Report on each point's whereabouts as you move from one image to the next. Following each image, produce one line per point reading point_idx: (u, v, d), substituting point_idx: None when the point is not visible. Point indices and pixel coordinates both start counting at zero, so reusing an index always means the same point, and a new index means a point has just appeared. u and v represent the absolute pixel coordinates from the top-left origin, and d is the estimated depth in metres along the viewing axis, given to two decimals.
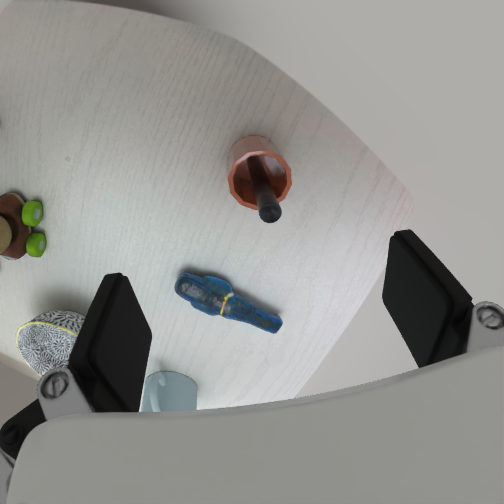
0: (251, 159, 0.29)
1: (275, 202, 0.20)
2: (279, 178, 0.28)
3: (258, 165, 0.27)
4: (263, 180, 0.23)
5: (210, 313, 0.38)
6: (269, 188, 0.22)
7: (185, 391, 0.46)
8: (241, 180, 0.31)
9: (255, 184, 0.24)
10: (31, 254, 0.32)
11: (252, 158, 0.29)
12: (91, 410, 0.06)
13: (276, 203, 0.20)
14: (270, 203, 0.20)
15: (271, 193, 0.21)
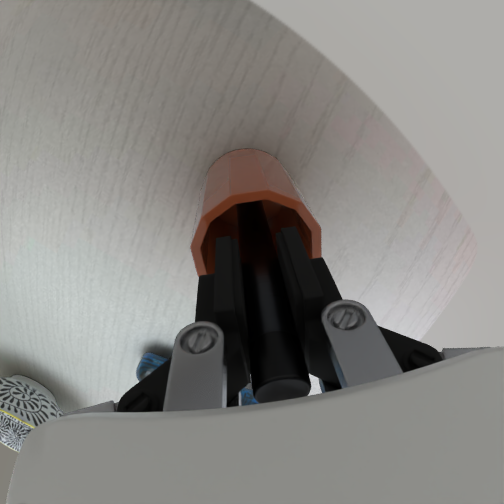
0: None
1: (297, 368, 0.07)
2: None
3: (254, 213, 0.14)
4: (265, 267, 0.10)
5: None
6: (279, 298, 0.09)
7: None
8: (225, 229, 0.18)
9: (246, 274, 0.11)
10: None
11: None
12: (222, 385, 0.06)
13: (299, 371, 0.07)
14: (283, 377, 0.07)
15: (284, 322, 0.08)
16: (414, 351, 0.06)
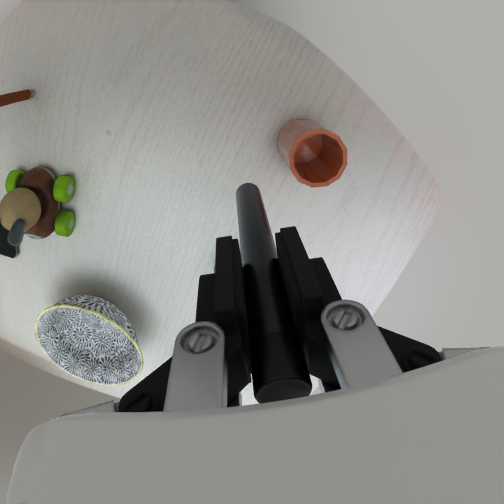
0: (243, 195, 0.16)
1: (298, 368, 0.07)
2: (330, 160, 0.29)
3: (255, 213, 0.14)
4: (266, 268, 0.10)
5: None
6: (280, 299, 0.09)
7: None
8: None
9: (247, 275, 0.11)
10: (59, 233, 0.32)
11: (245, 193, 0.16)
12: (222, 385, 0.06)
13: (300, 372, 0.07)
14: (284, 377, 0.07)
15: (286, 322, 0.08)
16: (413, 351, 0.06)
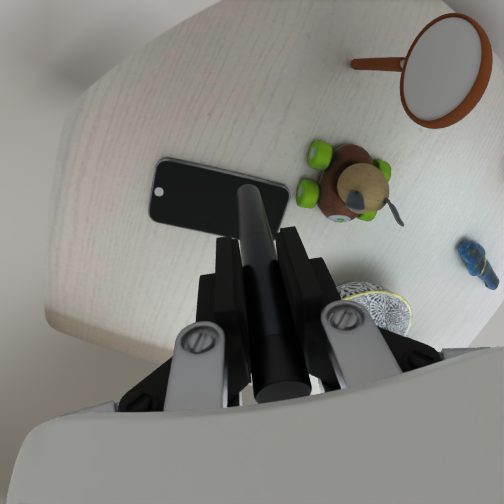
0: (243, 196, 0.16)
1: (297, 370, 0.07)
2: None
3: (255, 215, 0.14)
4: (266, 269, 0.10)
5: (475, 273, 0.40)
6: (280, 300, 0.09)
7: None
8: None
9: (247, 276, 0.11)
10: (367, 217, 0.34)
11: (244, 194, 0.16)
12: (223, 385, 0.06)
13: (300, 373, 0.07)
14: (284, 379, 0.07)
15: (285, 324, 0.08)
16: (413, 351, 0.06)
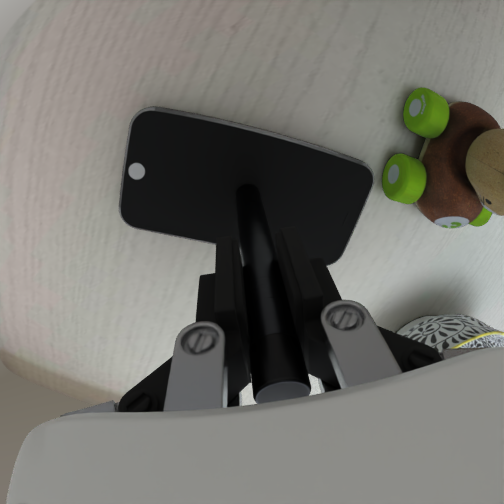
0: (242, 197, 0.16)
1: (297, 370, 0.07)
2: None
3: (255, 215, 0.14)
4: (266, 269, 0.10)
5: None
6: (279, 300, 0.09)
7: None
8: None
9: (247, 277, 0.11)
10: (481, 220, 0.18)
11: (244, 194, 0.16)
12: (222, 385, 0.06)
13: (299, 373, 0.07)
14: (283, 379, 0.07)
15: (285, 324, 0.08)
16: (413, 351, 0.06)
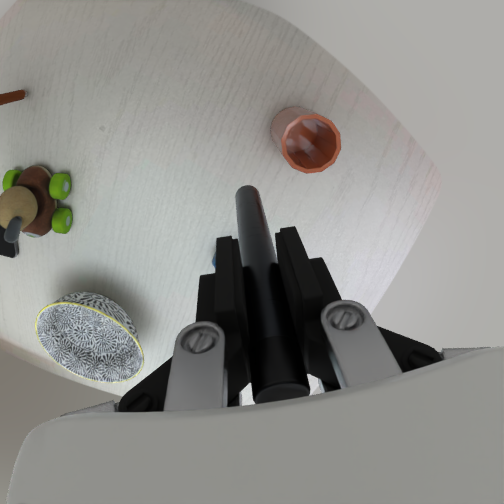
0: (242, 198, 0.16)
1: (296, 372, 0.07)
2: (325, 146, 0.28)
3: (254, 216, 0.14)
4: (265, 271, 0.11)
5: None
6: (279, 303, 0.09)
7: None
8: None
9: (246, 279, 0.11)
10: (57, 230, 0.32)
11: (244, 196, 0.16)
12: (223, 385, 0.06)
13: (299, 376, 0.07)
14: (283, 381, 0.07)
15: (284, 326, 0.08)
16: (413, 351, 0.06)
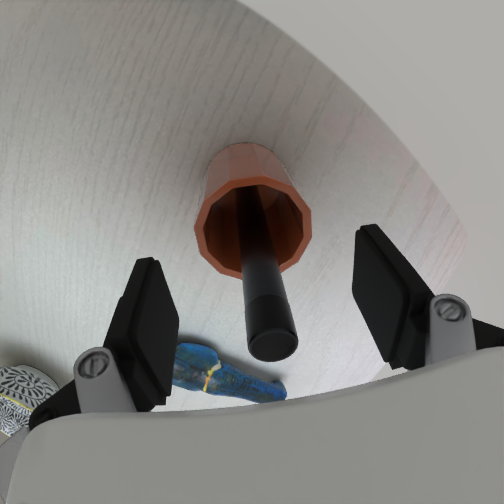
0: (240, 187, 0.18)
1: (285, 323, 0.09)
2: (288, 219, 0.17)
3: (251, 201, 0.16)
4: (260, 245, 0.12)
5: (190, 389, 0.26)
6: (271, 269, 0.11)
7: None
8: (225, 217, 0.20)
9: (243, 252, 0.12)
10: None
11: None
12: (127, 396, 0.06)
13: (287, 326, 0.08)
14: (273, 329, 0.08)
15: (276, 287, 0.10)
16: None
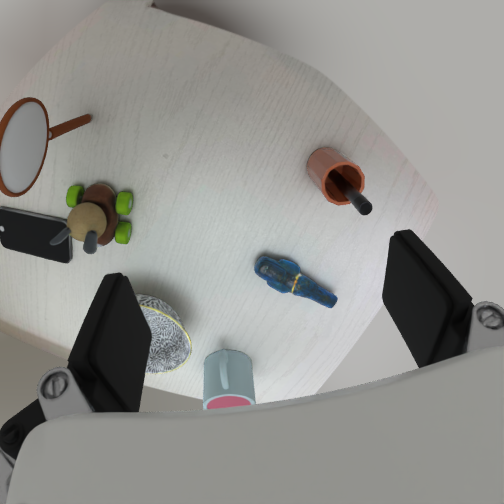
0: None
1: (368, 201, 0.28)
2: (350, 182, 0.37)
3: (338, 173, 0.35)
4: (351, 185, 0.32)
5: (283, 291, 0.46)
6: (358, 191, 0.30)
7: (245, 366, 0.54)
8: None
9: (345, 187, 0.32)
10: (119, 241, 0.40)
11: None
12: (91, 410, 0.06)
13: (369, 202, 0.28)
14: (366, 201, 0.28)
15: (362, 195, 0.29)
16: None
